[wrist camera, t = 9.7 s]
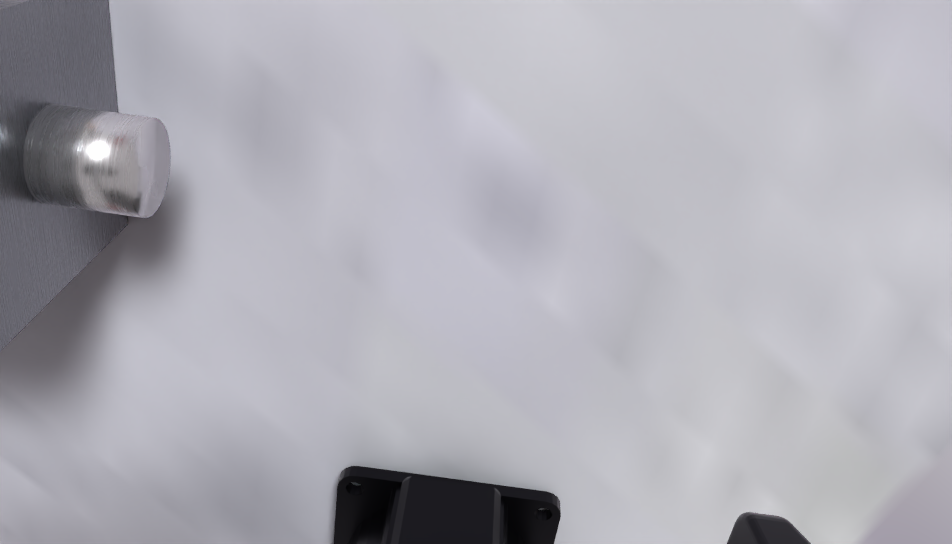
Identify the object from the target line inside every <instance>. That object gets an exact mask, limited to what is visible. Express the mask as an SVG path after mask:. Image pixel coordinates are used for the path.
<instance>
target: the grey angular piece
mask: <svg viewBox="0 0 952 544" xmlns="http://www.w3.org/2000/svg"><path fill="white" fill-rule="evenodd" d="M170 159H171V155H170V143H169V137H168V133H167V130H166V128H165V126H164V124H163V123H162V122H161V121H160V120H159V119H157V118H151V117H144V116H137V115H130V114H123V113H118V109H117V97H116V86H115V75H114V63H113V52H112V40H111V29H110V17H109V6H108V0H0V351H1V350H2V349H3V348H4V347H5V346H6V345H7V344H8V343H9V342H10V341H11V340H12V339H13V338H14V337H15V336H16V335H17V334H18V333H19V332H20V331H21V330H22V329H23V328H24V327H25V326H26V325H27V324H28V323H29V322H30V321H31V320H32V319H33V318H34V317H35V316H36V315H37V314H38V313H39V312H40V311H41V310H42V309H43V308H44V307H45V306H46V305H47V304H48V303H49V302H50V301H51V300H52V299H53V298H54V297H55V296H56V295H57V294H58V293H59V292H60V291H61V290H62V289H63V288H64V287H65V286H66V285H67V284H68V283H69V282H70V281H71V280H72V279H73V278H74V277H75V276H76V275H77V274H78V273H79V272H80V271H81V270H82V269H83V268H84V267H85V266H86V265H87V264H88V263H89V262H90V261H91V260H92V259H93V258H94V257H95V256H96V255H97V254H98V253H99V252H100V251H102V250H103V249H104V248H105V247H106V246H107V245H108V244H109V243H110V242H111V241H112V240H113V239H114V238H115V237H116V236H117V235H118V234H119V233H120V232H121V231H122V230H123V229H124V228H125V227H126V226H127V225H128V224H127V216H134V217H141V218H148V217H151V216H152V215H153V214H154V213H155V212H156V211H157V209H158V208H159V206H160V204H161V202H162V200H163V198H164V195H165V192H166V188H167V184H168V179H169V173H170Z"/></svg>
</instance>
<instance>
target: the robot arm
mask: <svg viewBox="0 0 952 544" xmlns="http://www.w3.org/2000/svg"><path fill="white" fill-rule="evenodd" d="M351 482H356V483H359V484H361V485H359V486H356V485H353V484H352V483H351ZM539 508H547V509H548V510H543V511H541V510H539ZM559 521H560V501H559V499H558V498H557V496H555V495H554V494H552V493H549V492H545V491H538V490H530V489H523V488H515V487H508V486H501V485H493V484H486V483H479V482H471V481H464V480H456V479H449V478H442V477H434V476H427V475H419V474H412V473H405V472H397V471H390V470H382V469H375V468H368V467H360V466H351V467H348V468H346V469H345V470H344V471H342V473H341V476H340V479H339V483H338V486H337V502H336V517H335V533H334V544H554V541H555V537H556V533H557V529H558V525H559ZM727 544H811V543H810V542H809V541H808V540H807V539H806V538H805V537H804V536H803V535H802V534H801V533H800V532H799V531H798V530H797V529H796V528H795V527H794V526H793V525H792V524H791V523H790V522H789V521H788V520H786V519H785V518H782V517H779V516H773V515H766V514H759V513H751V512H747V513H743V514H741V515H740V516H739V517H738V519H737V520H736V522H735V524H734V527H733V530H732V532H731V535H730V537H729V540H728V542H727Z"/></svg>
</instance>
